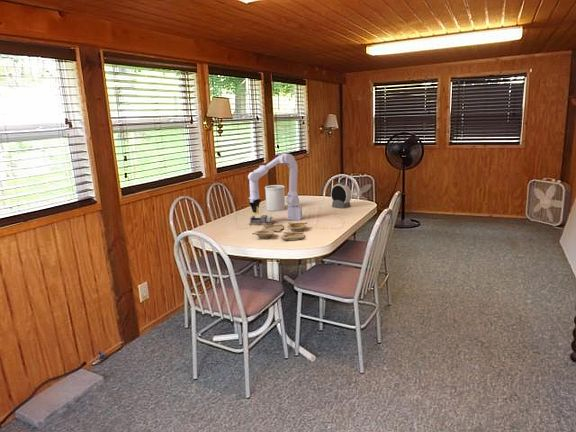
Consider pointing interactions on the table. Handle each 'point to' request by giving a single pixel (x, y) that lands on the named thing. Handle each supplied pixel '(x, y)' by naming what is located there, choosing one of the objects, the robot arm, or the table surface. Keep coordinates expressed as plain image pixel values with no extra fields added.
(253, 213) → the block
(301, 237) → the tableware set
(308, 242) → the table surface
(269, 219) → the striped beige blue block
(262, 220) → the block
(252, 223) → the board
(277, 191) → the utensil holder
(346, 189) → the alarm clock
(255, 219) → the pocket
